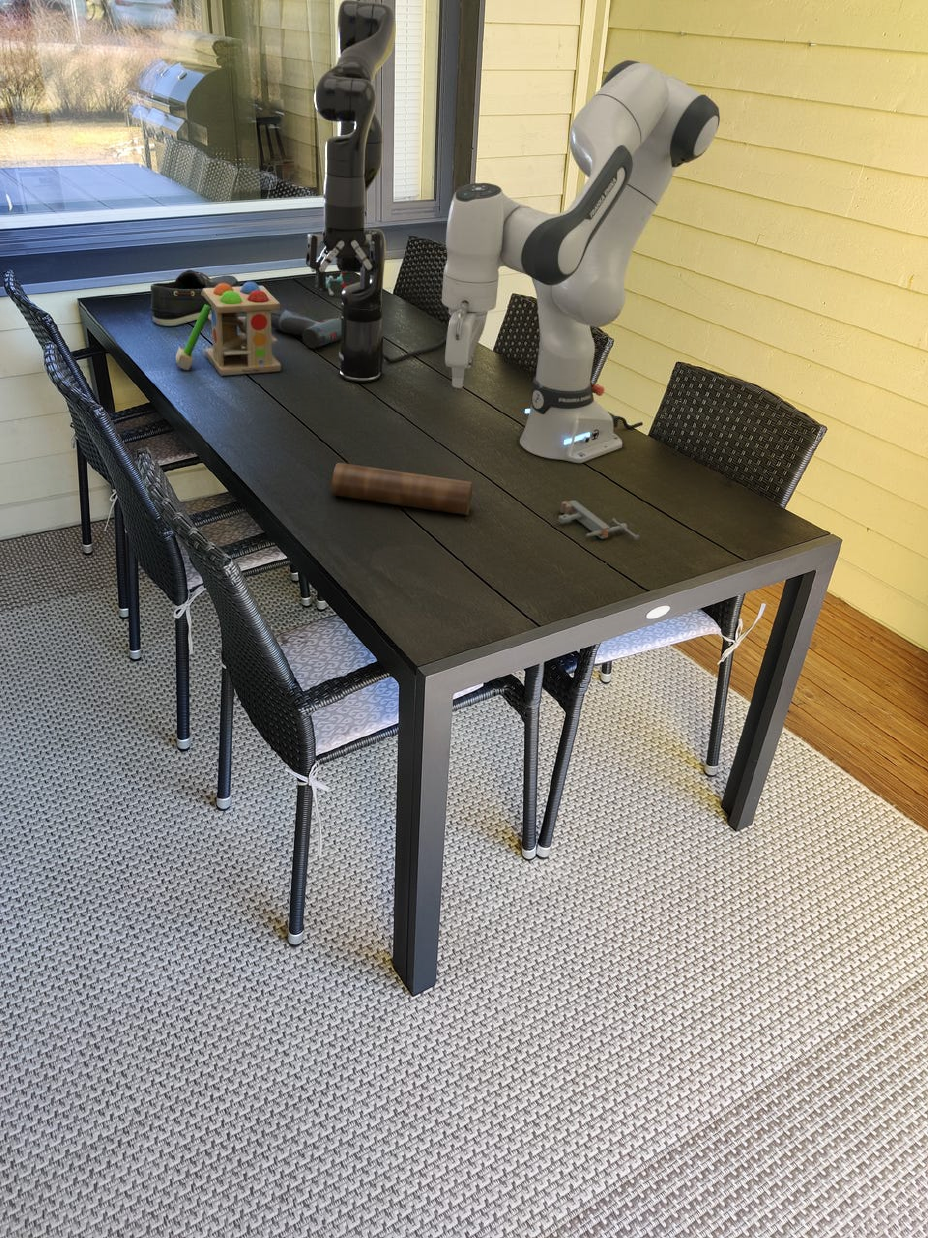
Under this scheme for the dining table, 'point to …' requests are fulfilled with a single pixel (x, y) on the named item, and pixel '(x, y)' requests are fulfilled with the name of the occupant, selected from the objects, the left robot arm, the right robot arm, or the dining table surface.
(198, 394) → the dining table surface
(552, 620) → the dining table surface
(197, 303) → the boat shoe
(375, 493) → the rod
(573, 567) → the dining table surface
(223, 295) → the pounding bench toy
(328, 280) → the molecular model
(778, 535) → the dining table surface
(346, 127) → the left robot arm
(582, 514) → the clamp
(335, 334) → the power drill
